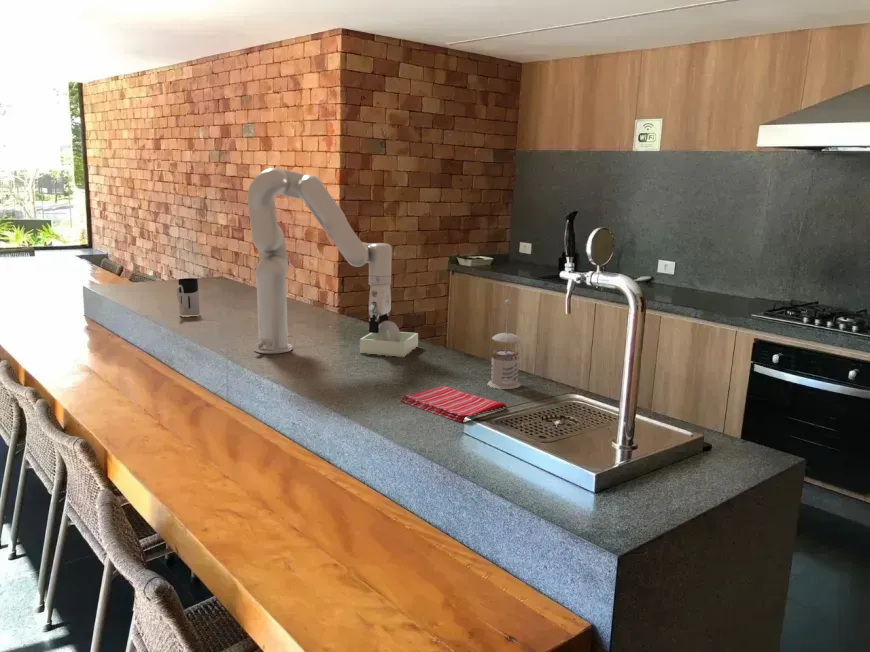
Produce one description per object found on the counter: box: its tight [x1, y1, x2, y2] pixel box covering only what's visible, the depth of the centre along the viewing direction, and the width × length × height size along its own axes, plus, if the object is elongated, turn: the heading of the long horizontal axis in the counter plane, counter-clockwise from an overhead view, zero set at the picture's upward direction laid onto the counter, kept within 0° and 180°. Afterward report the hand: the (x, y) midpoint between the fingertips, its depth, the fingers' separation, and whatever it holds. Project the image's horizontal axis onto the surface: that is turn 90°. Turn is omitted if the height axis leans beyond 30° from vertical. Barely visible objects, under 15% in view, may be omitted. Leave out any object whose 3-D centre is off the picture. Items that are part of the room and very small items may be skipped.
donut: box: [377, 320, 401, 342], centre depth 240 cm, size 10×3×10 cm, turn 48°
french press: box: [487, 299, 524, 390], centre depth 203 cm, size 10×12×25 cm
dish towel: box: [400, 385, 508, 424], centre depth 185 cm, size 17×24×3 cm
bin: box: [359, 330, 419, 358], centre depth 242 cm, size 16×16×5 cm
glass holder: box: [176, 277, 201, 315], centre depth 290 cm, size 9×14×15 cm, turn 174°
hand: (378, 329), depth 242 cm, fingers open, 9 cm apart
